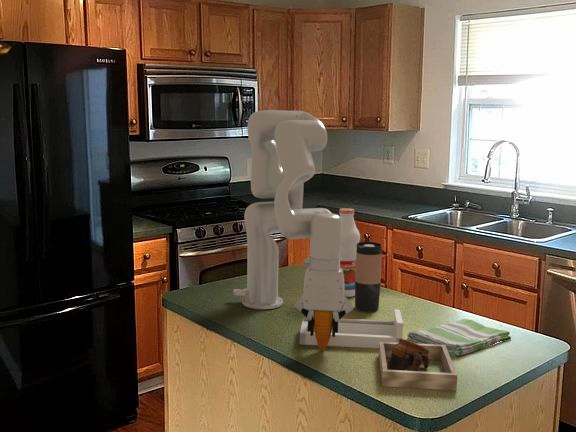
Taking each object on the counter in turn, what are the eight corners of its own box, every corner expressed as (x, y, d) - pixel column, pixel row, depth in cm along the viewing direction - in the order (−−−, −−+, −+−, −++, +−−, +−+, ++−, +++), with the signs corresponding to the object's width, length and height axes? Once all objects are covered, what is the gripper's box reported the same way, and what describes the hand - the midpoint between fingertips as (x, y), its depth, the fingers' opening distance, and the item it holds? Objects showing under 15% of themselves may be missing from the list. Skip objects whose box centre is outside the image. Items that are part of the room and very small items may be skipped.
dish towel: (405, 339, 171) (405, 326, 171) (460, 323, 185) (461, 311, 184) (456, 360, 158) (457, 346, 157) (512, 341, 171) (513, 328, 171)
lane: (299, 344, 165) (300, 318, 164) (302, 329, 176) (303, 305, 175) (401, 349, 163) (403, 323, 162) (398, 334, 174) (399, 309, 172)
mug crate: (382, 386, 141) (383, 371, 141) (378, 355, 159) (379, 341, 158) (456, 390, 140) (457, 375, 139) (444, 358, 157) (445, 344, 157)
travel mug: (378, 305, 199) (381, 242, 195) (379, 313, 191) (382, 247, 188) (354, 304, 199) (356, 241, 196) (354, 311, 192) (356, 246, 189)
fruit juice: (346, 287, 217) (349, 206, 212) (364, 295, 209) (367, 210, 204) (324, 291, 212) (326, 208, 207) (341, 299, 204) (344, 212, 200)
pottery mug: (377, 366, 153) (390, 334, 155) (411, 382, 155) (423, 350, 156) (397, 374, 142) (411, 339, 143) (433, 390, 143) (447, 356, 145)
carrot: (334, 348, 163) (336, 291, 160) (329, 355, 158) (331, 296, 155) (315, 345, 164) (317, 289, 162) (310, 352, 160) (311, 294, 157)
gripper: (288, 266, 154) (287, 338, 157) (359, 269, 153) (357, 341, 156) (291, 258, 162) (290, 328, 165) (359, 261, 160) (356, 331, 163)
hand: (322, 333), depth 160 cm, fingers closed on carrot, 4 cm apart
